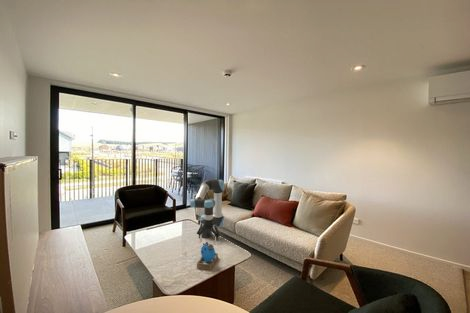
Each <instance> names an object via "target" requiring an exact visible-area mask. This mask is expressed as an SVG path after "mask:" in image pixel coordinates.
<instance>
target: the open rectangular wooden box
mask: <svg viewBox="0 0 470 313" xmlns="http://www.w3.org/2000/svg"><path fill="white" fill-rule="evenodd" d="M218 255H219V253H217V252H215V258H214V259H213V260H211V261H209V262H205V261H204V260H203V258H202V256H201V257H200V258H199V259H198V261H197V262H196V268H197V269H200V270H208V271H211V270H212V269H213V267H214V265H215V263H216V262H217V260H218V258H219V256H218Z"/></svg>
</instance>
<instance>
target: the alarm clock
mask: <svg viewBox="0 0 470 313" xmlns="http://www.w3.org/2000/svg"><path fill="white" fill-rule="evenodd" d="M200 248H201V249H200V254H201V257H202V258H203V260H204V261H205V262H209V261H211V260H213V259H214V258H215V253H216V249H215V248H214V245H213V244H211V243H209V241H204V242H203V243H202V246H201V247H200Z"/></svg>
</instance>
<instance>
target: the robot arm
mask: <svg viewBox="0 0 470 313" xmlns="http://www.w3.org/2000/svg"><path fill="white" fill-rule="evenodd" d="M225 187H226V186H225V181H224V180H223V179H214V178H213V179H210V178H208V179H206V180H205V181H204V180H203V182H201V184H200V186H199V190H198V192H197V193H196V196H195V198H192V199H190V203H189V206H190V208H193V209H203V210H204V214H202V215H201V216H200V220H199V221H200V226H199V229H198V230H197V232H196V234H197V235H198V239H199V244H201V243H202V242H203V240H202V239H203V238H204V239H205V238H211V237H212V236H213V235H214V236H215V237H214V245H216V246H217V243H218V240H219V237H220V236H221V233H220V231H219V229H218V228H221V227H223V226H224V222H225V216H224V214H223V212H222V210H223V209H222V208H223V205H222V204H223V202H222V200H223V198H222V197H223V196H222V195H223V193H224V191H225ZM208 191H212V193H213V198H209V199H205V197H206V194H207V192H208Z"/></svg>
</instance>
